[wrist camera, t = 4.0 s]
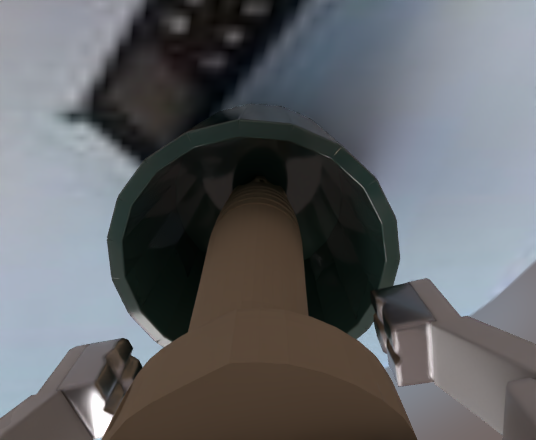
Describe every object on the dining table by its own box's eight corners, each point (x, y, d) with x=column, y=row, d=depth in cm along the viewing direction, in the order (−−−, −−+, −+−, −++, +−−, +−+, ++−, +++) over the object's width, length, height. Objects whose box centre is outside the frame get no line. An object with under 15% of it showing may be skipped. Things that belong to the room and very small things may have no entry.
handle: (324, 176, 19) (485, 445, 5) (265, 261, 21) (262, 615, 7) (250, 130, 18) (193, 308, 4) (197, 224, 20) (37, 553, 6)
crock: (140, 130, 18) (54, 164, 11) (334, 81, 17) (384, 83, 10) (200, 289, 22) (167, 393, 15) (359, 257, 21) (408, 351, 14)
